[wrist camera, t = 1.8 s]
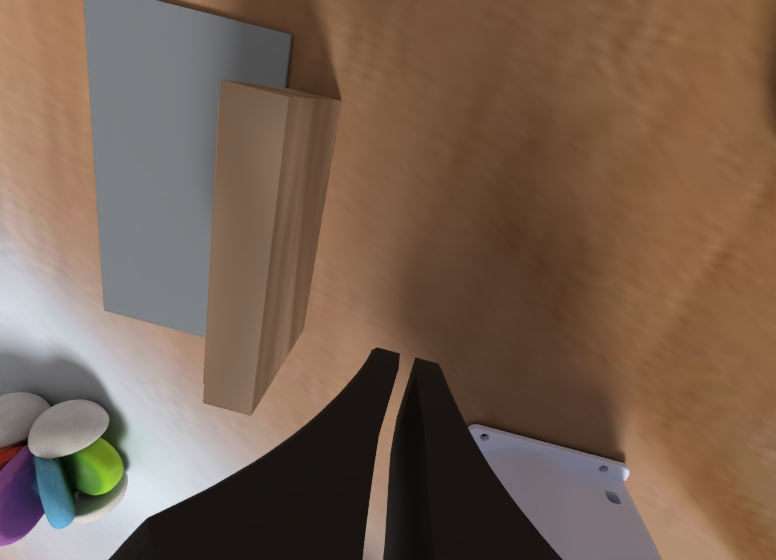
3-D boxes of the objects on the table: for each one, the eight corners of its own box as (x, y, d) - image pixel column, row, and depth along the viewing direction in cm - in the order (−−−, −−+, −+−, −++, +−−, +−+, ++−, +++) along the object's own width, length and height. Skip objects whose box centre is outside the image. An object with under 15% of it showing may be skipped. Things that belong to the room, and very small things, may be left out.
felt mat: (292, 35, 17) (290, 34, 17) (256, 348, 23) (254, 350, 23) (86, -18, 17) (82, -19, 17) (106, 308, 24) (104, 310, 23)
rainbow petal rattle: (-6, 376, 27) (-151, 464, 20) (131, 393, 26) (27, 490, 20) (31, 470, 30) (-83, 571, 24) (154, 488, 30) (71, 598, 23)
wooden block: (342, 100, 18) (289, 97, 12) (303, 329, 23) (251, 415, 16) (293, 88, 18) (213, 77, 12) (264, 318, 23) (197, 401, 16)
